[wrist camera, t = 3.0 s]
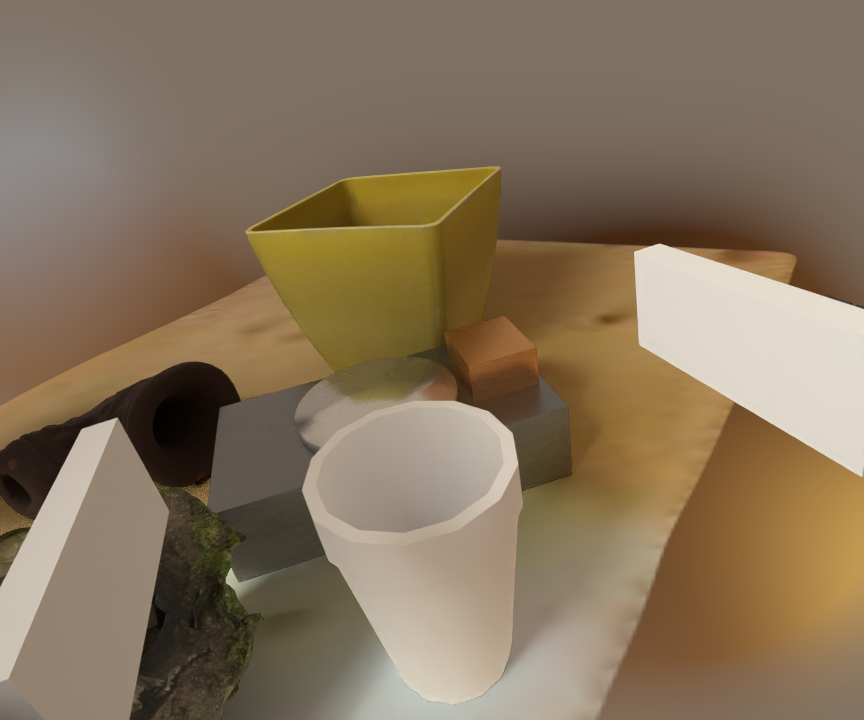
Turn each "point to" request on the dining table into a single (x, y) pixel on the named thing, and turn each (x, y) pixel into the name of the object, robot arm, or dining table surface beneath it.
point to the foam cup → (426, 538)
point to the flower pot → (384, 260)
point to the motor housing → (357, 397)
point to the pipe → (130, 434)
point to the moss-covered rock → (186, 616)
